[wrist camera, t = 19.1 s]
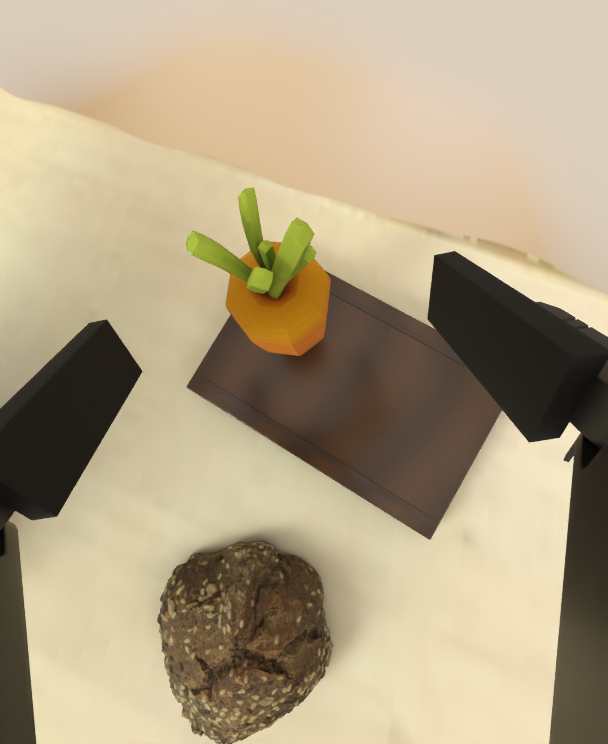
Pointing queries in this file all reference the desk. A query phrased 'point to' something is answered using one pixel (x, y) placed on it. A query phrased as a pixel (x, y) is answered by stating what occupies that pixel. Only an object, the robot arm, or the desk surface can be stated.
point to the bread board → (361, 404)
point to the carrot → (272, 283)
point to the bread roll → (243, 638)
